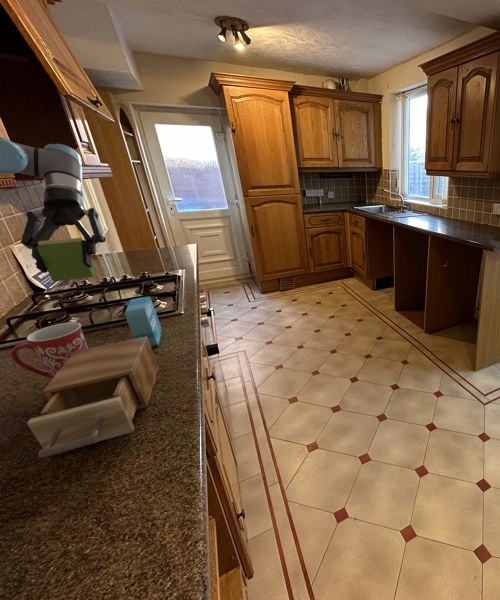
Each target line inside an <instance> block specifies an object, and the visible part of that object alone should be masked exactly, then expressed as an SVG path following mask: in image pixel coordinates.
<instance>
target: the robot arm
mask: <svg viewBox="0 0 500 600" xmlns="http://www.w3.org/2000/svg"><path fill="white" fill-rule="evenodd" d="M0 174H4V175H5V174H7V175H9V174H10V175H15V174H20V175H21V174H22V175H26V176H31V177H38V178H43V187H42V191H43V192H42V193H43V194H42V195H43V198H42V199H43V201H42V203H43V209H42V210H41V211H39V212H33V211H30V210H29V211H27V212H26V218H27V221H26V223H25V228H24V230H23V234H22V237H21V240H20V244H21V245H23V246H24V247H26V248H27V249H28V250H31V257H32V258H33V260H35V261H36V264H35V265H36V266H35V267H36V269H37V270H39V271H40V272H41V273H43V274H46V273H49V272H48V270H47V268H46V266H45V264H44V262H43V260H42V257H41V255H40V253H39V251H38V249H37V246H39V245H38V242H39V241H48V240H51V238H52V237H53V235H54V233H55V232H56V231H57V230H59V228H60V227H63V226H75V227H76V229H77V230H78V231H79V233H81V235H82V236H83V238H84V240H85V241H82V256H83V263H84V264H85V265H86V266H87V267H88V268H91V267H92V260H93V256H94V255H96V253H97V251H96V249H97V248H96V245H97V244H99V243H101V244H103V243H104V242H105V237H104V235H103V232H102V229H101V226H100V223H99V216H100V214H99V213H98V212H97V210H96V209H95V208H94V207H90V208H88V209H84V198H83V197H84V189H83V188H84V187H83V165H82V159H81V156H80V154H79V153H78V152H77V150H75V149H74V148H72V147H70V146H68V145H66V144H62V143H49V144H46V145H45V146H44V148H40V147H33V146H29V145H24V144H21V143H17V142H14V141H11V140H9V139H7V138H4V137H0ZM85 216H86V217H87V218H88V221H89V223H90V224H89V225H90V227H91V230H92V234H93V236H92V235H91V234H90V233H89V232H88V230H87V229H86V228H85V226H84V225H83V224H82V222H81V220H82V219H83V218H84V217H85ZM43 218H45V219H43ZM42 222H43V225H41V223H42Z"/></svg>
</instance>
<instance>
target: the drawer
mask: <svg viewBox="0 0 500 600" xmlns="http://www.w3.org/2000/svg"><path fill="white" fill-rule="evenodd" d="M138 403H139V398H138V396H137V394H136V391H135V389H134V387H133V384H132V382H131V380H130V377H129V375H125V376H121V377H117V378H112V379H108V380H104V381H99V382H95V383H91V384H86V385H82V386H78V387H73V388H69V389H65V390H60V391H56V392H55V394H54V395H53V397H52V398H51V399H50V401H49V400H48V402H47V403H46V405H45V406H44V407H43V409H42V410H41V412H40V413H39V414H40V416H36V417H32V418H29V419H28V422H26V424H27V426H28V427H29V429H30V430H31V433H32V434H33V435H34V437H35V439H36V440H37V442H38V443H39V445H40V446H41V448H42V449H40V450H39V451H38V458H39V459H41V460H42V459H45V458H49V457H53V456H56V455H60V454H63V453H67V452H69V451H73V450H77V449H79V448H83V447H86V446H91V445H94V444H97V443H98V442H102V441H106V440H109V439H112V438H113V439H114V438H116V437H120V436H123V435H126V434H130V433H133V432H134V431H135V426H134V423H133V419H134V417H135V413H136V411H137V410H136V408H137V406H138Z"/></svg>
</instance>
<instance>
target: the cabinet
mask: <svg viewBox="0 0 500 600" xmlns="http://www.w3.org/2000/svg"><path fill="white" fill-rule="evenodd" d="M159 371H160V367H159V364H158V361H157V359H156V356H155V354H154V351H153V347H151V346H150V343H149V341H148V338H147V337H142V338H137V339H134V338H132V339H128V340H126V339H125V340H122V341H117V342H112V343H107V344H101V345H96V346H90V347H88V348H85V349H80V350H75V351H74V352H73V354H72V355H71V356H70V357H69V359H68V360H67V361H66V362H65V364H64V365H63V366H62V367H61V369H60V370H59V371H58V372H57V374H56V375H55V376H54V378H53V379H52V378H51V380H50V381H49V382H48V383H47V385H46V386H45V388H43V390H42V392H43V393H44V395H45V397H46V398H47V400H48V402H49V401H50V399H51V398H52V397H53V395H54V394H55V392H56V391H60V390H65V389H69V388H73V387H78V386H82V385H86V384H91V383H95V382H99V381H104V380H108V379H112V378H117V377H121V376H125V375H129V377H130V380H131V382H132V384H133V387H134V389H135V391H136V394H137V396H138V398H139V403H138V406H137V408H136V411H137V410H141V409H144V408H148V405H149V402H150V399H151V396H152V394H153V390H154V387H155V384H156V381H157V377H158V374H159Z"/></svg>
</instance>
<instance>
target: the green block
mask: <svg viewBox="0 0 500 600" xmlns="http://www.w3.org/2000/svg"><path fill="white" fill-rule="evenodd" d="M82 241H86V239H82V237H73V238H63V239H62V238H60V239H49V240H48V241H39V242H38V245H39V246H37V249H38V251H39V253H40V255H41V257H42V260H43V262H44V264H45V266H46V268H47V270H48V272H47V273H48V274H49V276H50V278H51V281H52V282H53V283H54V282H62V281H71V280H78V279H79V280H80V279H88V278H93V277H95V276H96V275H97V274H99V273H98V270H97V267H96V265H95V262H94V261H93V259H92V267H91V268H88V267H87V266H86V265H85V264H84V263H83V256H82Z"/></svg>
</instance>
